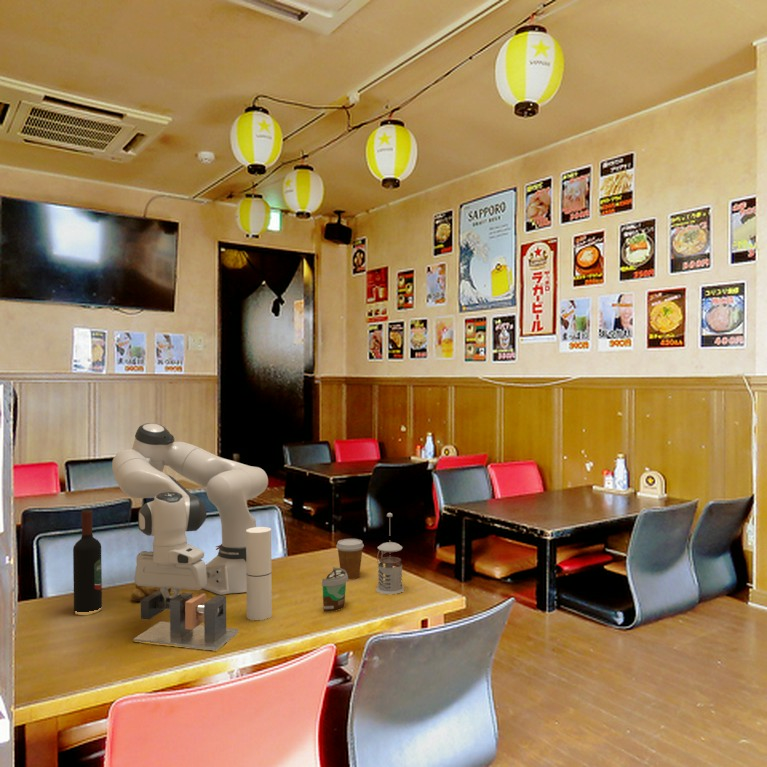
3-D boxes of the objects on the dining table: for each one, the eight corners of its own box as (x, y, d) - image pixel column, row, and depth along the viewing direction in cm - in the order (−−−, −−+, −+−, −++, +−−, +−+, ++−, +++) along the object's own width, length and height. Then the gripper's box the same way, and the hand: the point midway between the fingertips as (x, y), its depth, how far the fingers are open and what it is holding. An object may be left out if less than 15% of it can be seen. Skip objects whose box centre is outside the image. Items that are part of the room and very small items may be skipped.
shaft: (140, 619, 165) (140, 600, 165) (158, 608, 172) (158, 590, 172) (211, 625, 160) (210, 606, 160) (226, 614, 167) (226, 595, 167)
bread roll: (134, 606, 190) (134, 580, 190) (126, 597, 197) (125, 572, 197) (176, 597, 197) (176, 571, 197) (166, 588, 205) (166, 564, 205)
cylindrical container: (250, 622, 176) (249, 533, 176) (244, 614, 182) (243, 528, 182) (275, 617, 179) (274, 530, 179) (267, 609, 186) (266, 525, 185)
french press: (384, 596, 196) (384, 517, 196) (367, 586, 206) (366, 510, 206) (411, 591, 201) (410, 513, 200) (392, 581, 211) (391, 507, 211)
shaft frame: (133, 642, 163) (132, 601, 163) (160, 625, 175) (160, 586, 174) (216, 651, 157) (215, 608, 157) (238, 632, 169) (238, 592, 169)
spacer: (185, 629, 162) (185, 602, 162) (199, 619, 169) (199, 593, 169) (192, 629, 161) (192, 602, 161) (206, 619, 168) (206, 593, 168)
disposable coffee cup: (352, 570, 223) (351, 537, 223) (369, 576, 216) (369, 541, 216) (331, 576, 217) (330, 541, 217) (348, 582, 210) (348, 547, 210)
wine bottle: (74, 608, 188) (73, 509, 188) (102, 604, 191) (101, 506, 191) (73, 617, 181) (71, 514, 181) (101, 613, 184) (100, 511, 184)
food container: (342, 614, 181) (342, 580, 181) (322, 613, 182) (321, 579, 182) (352, 599, 193) (352, 567, 193) (333, 598, 194) (333, 566, 194)
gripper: (129, 553, 169) (130, 604, 170) (197, 558, 165) (197, 610, 165) (143, 547, 176) (144, 596, 176) (209, 551, 171) (209, 602, 171)
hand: (170, 603), depth 170 cm, fingers closed
